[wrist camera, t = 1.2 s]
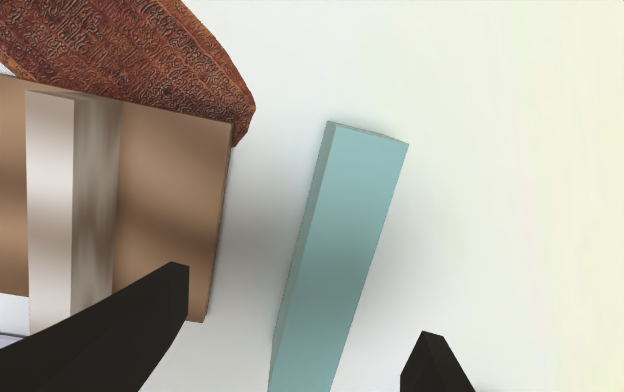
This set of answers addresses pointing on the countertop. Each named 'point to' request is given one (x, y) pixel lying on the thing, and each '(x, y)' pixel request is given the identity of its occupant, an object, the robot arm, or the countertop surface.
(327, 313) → the teal rectangular bar
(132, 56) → the wooden tablet
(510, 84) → the countertop surface
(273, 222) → the countertop surface
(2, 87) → the ridge
